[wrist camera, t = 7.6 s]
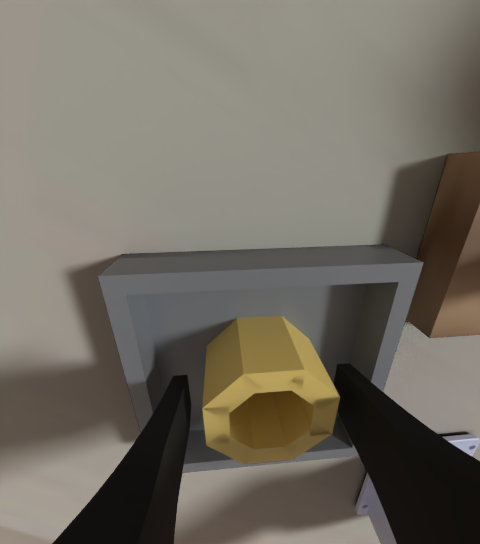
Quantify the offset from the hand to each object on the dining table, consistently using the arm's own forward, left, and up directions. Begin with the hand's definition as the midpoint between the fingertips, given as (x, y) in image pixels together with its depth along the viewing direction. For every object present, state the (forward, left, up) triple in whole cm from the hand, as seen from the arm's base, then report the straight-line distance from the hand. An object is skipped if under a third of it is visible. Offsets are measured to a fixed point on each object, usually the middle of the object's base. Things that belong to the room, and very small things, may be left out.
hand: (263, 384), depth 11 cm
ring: (0, 0, -2) cm, 2 cm away
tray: (0, 0, -2) cm, 2 cm away
